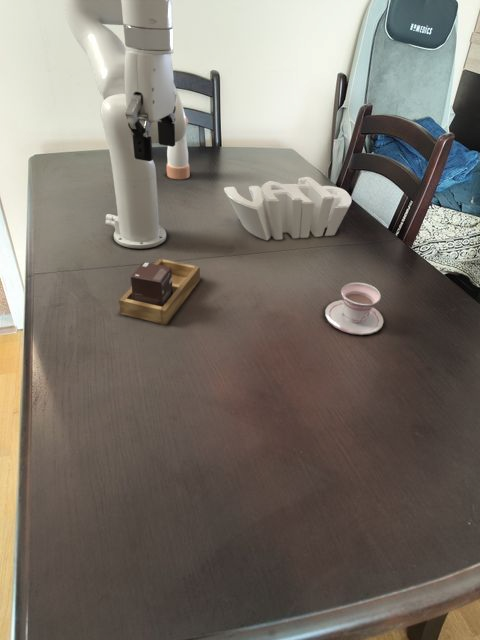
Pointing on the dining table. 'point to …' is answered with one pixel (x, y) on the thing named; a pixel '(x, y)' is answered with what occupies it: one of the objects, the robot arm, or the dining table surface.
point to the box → (152, 284)
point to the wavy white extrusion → (291, 209)
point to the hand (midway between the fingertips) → (155, 152)
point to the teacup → (356, 310)
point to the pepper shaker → (178, 159)
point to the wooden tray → (182, 286)
